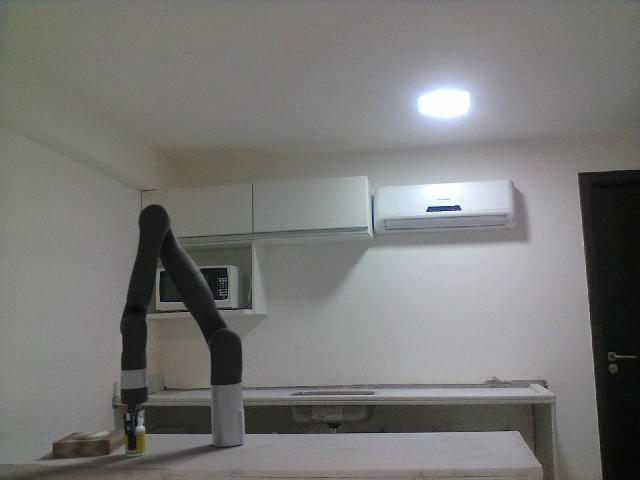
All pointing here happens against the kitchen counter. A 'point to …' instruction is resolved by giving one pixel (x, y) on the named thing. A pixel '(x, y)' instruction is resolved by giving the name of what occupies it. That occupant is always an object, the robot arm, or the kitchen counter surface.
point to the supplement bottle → (140, 442)
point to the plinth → (88, 443)
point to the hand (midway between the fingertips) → (135, 447)
